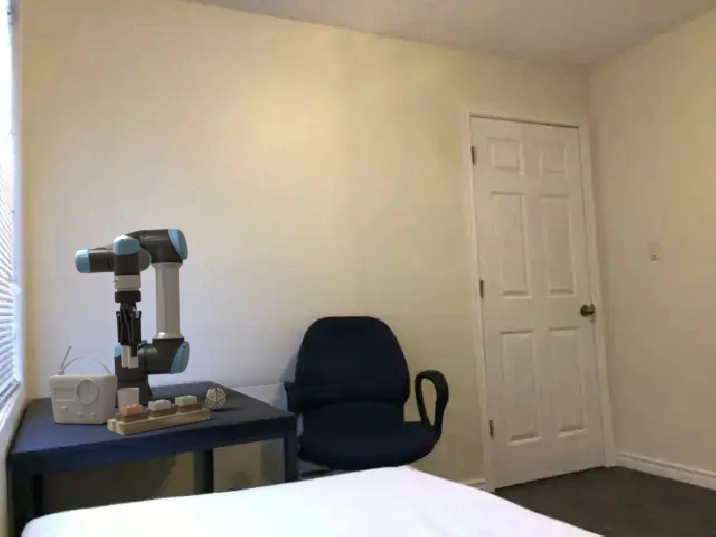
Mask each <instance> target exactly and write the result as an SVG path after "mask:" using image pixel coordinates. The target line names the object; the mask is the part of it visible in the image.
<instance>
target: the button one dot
mask: <svg viewBox="0 0 716 537" xmlns="http://www.w3.org/2000/svg"><path fill="white" fill-rule="evenodd" d="M174 399H175V400H174V403H175V404H176V405H180V406H185V405H191V404H197V402H198V398H197V396H193V395H184V396H178V397H175V398H174Z"/></svg>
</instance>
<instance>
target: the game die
mask: <svg viewBox="0 0 716 537" xmlns="http://www.w3.org/2000/svg"><path fill="white" fill-rule="evenodd" d="M206 389H207V391H206V395H205V397H203V399H204V400H202V402H201V403H204V404H206V406H207V409H209V410H210V411H211V410H213V411H214V410H221V409H222V410H223V411H225V408H224V407H225V403H226V401H227V400H228V398H229V395H227V394H226V393H225V391H224V389H223V385H221V386H220V387H216V388H209V387H208V386H207V387H206Z"/></svg>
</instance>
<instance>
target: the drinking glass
mask: <svg viewBox="0 0 716 537" xmlns="http://www.w3.org/2000/svg"><path fill="white" fill-rule="evenodd" d="M117 395H118V407H117V408H118V413H119V412H120V406H125V405H131V404H139V388H125V389H119V390H117Z"/></svg>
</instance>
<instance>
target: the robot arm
mask: <svg viewBox="0 0 716 537" xmlns="http://www.w3.org/2000/svg"><path fill="white" fill-rule="evenodd" d="M188 252H189V251H188V245H187V240H186V237H185V234H184V232H183V231H182V230H181V229H178V228H177V229H176V228H166V229H165V228H164V229H163V228H162V229H161V228H160V229H144V230H143V229H142V230H136V231H135V230H134V231H131V232H128V233H125V234H123V235H120V236H118V237H116V238H115V239H114V241H112V242H109V243H107V244H104V245H102V246H98V247H96V248H90V249H89V248H86V249H79V250H77V251H76V253H75V257H74V264H75V268H76V270H77V271H78V273H80V274H95V273H96V274H98V273H113V274H114V275H113V276H114V279H113V280H112V282H113V283H114V289H115V290H116V291H114V303H115V304H119V310H116V311H115V316H116V326H117V327H116V330H117V331H116V332H117V333H116V334H117V335H116V336H117V343H118V344H117V345H116V346H115V347H114V356H113V360H114V374H116V376H117V390H119V389H125V388H139V405H143V406H147V405H148V402H151V401H155V397H154V393H153V391H152V388H151V386H150V382H149V376H151V375H152V376H153V375H174V374H181V373H184V372H185V371H186V369H187V367H188V364H189V360H190V353H191V352H190V351H191V350H190V349H191V348H190V343H189V341H186V339H185V336H184V335H183V334H182V333H181V314H180V313H181V307H180V306H181V305H180V304H181V303H180V298H181V297H180V268H181V267H183V265H184V261H186V260H187V259H188V257H189V256H188V254H189V253H188ZM150 266H151V267H152V268H153V269H154V270H155V272H154V273H155V323H156V324H155V325H156V328H155V329H156V333H155V334H154V335H153V337H152V338H151V339H152V340H151V342H150V343H149V341H148V340H147V339H142V313H143V312H142V310H138V308H137V303H141V302H142V291H141V290H140V289H141V288H142V282H141V276H142V275H141V272H144V271H146V270H147V269H149V267H150ZM117 390H116V400H115V408H118V395H117Z"/></svg>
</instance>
